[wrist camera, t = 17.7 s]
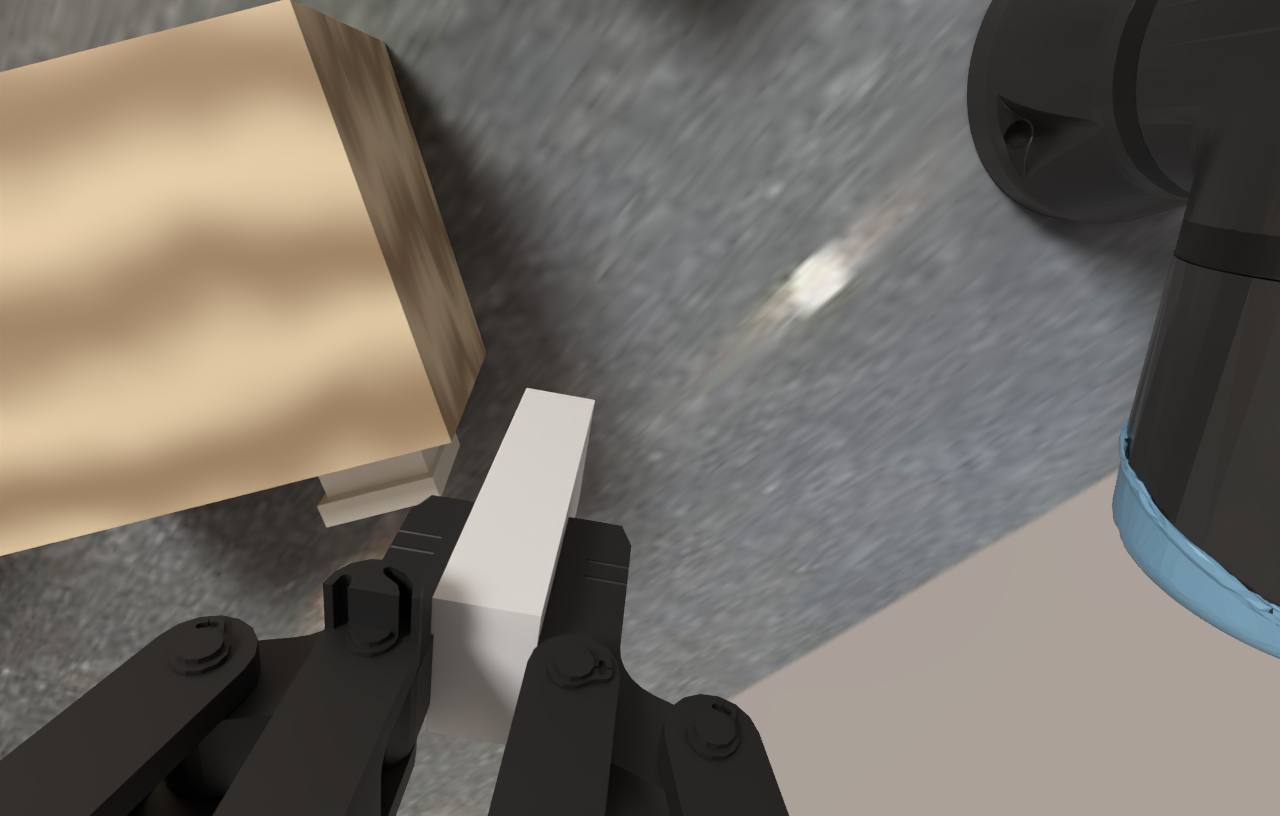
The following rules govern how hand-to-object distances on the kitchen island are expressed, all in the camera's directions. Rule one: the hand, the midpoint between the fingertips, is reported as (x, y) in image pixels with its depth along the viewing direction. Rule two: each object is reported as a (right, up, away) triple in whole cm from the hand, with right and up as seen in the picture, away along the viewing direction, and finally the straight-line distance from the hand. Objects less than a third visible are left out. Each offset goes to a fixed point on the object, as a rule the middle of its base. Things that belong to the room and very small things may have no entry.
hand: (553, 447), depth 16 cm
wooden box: (-19, +9, +22) cm, 30 cm away
